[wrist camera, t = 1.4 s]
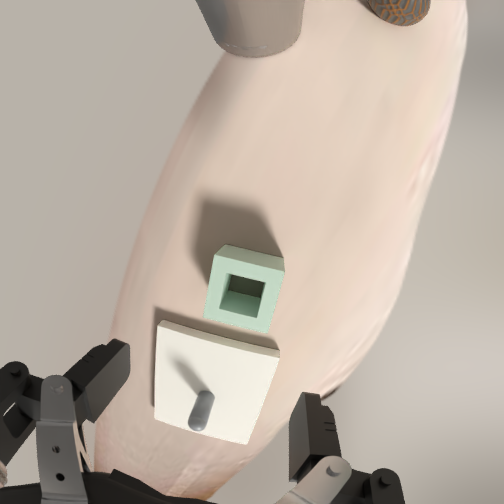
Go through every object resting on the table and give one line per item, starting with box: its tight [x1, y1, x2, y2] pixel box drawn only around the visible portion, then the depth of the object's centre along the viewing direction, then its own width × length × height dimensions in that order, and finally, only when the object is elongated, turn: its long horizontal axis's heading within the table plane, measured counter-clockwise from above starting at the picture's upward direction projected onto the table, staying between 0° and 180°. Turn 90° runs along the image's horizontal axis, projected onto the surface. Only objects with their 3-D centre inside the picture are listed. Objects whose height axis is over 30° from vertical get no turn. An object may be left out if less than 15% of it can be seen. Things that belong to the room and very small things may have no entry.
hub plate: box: [155, 320, 280, 445], centre depth 26 cm, size 16×13×7 cm
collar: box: [203, 244, 285, 334], centre depth 24 cm, size 6×6×4 cm
